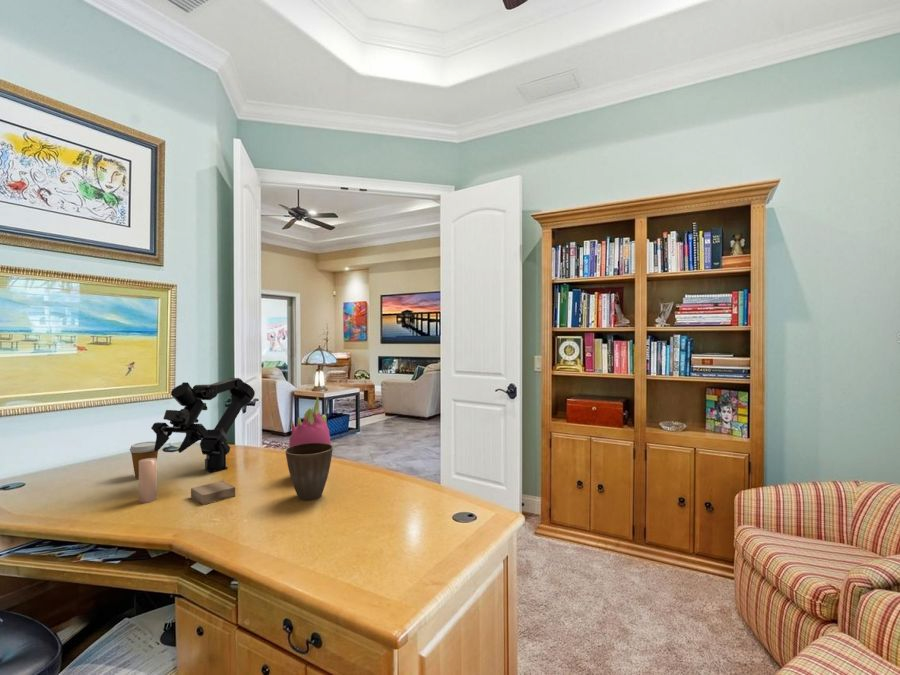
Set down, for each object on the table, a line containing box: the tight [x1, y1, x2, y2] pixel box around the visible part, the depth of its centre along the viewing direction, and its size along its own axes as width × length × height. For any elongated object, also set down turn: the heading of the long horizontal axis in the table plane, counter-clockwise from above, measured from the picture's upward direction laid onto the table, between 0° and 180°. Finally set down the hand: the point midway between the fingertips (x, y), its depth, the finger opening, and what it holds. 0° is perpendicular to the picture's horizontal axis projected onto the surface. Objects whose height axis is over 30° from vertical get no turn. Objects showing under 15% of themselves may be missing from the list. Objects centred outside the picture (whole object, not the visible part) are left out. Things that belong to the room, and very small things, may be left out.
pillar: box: [138, 458, 158, 504], centre depth 145 cm, size 5×5×13 cm
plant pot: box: [285, 443, 334, 501], centre depth 148 cm, size 15×15×16 cm
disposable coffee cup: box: [129, 441, 159, 479], centre depth 170 cm, size 10×10×12 cm
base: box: [190, 480, 236, 506], centre depth 148 cm, size 10×10×3 cm
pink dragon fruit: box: [288, 396, 332, 448], centre depth 169 cm, size 18×14×30 cm
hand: (167, 451), depth 154 cm, fingers open, 9 cm apart
